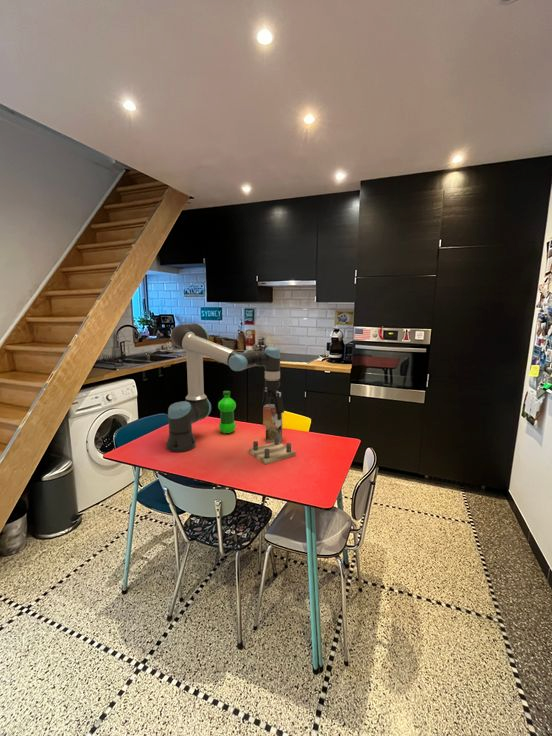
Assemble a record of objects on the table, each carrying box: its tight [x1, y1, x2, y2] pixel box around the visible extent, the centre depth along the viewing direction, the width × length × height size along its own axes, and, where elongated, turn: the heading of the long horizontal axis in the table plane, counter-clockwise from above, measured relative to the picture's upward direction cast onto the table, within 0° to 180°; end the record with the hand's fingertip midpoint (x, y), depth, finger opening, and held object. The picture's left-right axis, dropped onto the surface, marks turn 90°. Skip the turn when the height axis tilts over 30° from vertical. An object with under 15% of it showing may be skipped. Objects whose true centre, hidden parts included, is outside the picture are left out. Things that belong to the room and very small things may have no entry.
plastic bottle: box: [217, 390, 237, 434], centre depth 199 cm, size 10×10×25 cm
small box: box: [262, 403, 283, 428], centre depth 168 cm, size 8×6×10 cm
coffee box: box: [265, 421, 283, 443], centre depth 188 cm, size 9×6×16 cm
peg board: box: [248, 436, 297, 465], centre depth 171 cm, size 16×18×6 cm
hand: (272, 422), depth 169 cm, fingers closed on small box, 9 cm apart
